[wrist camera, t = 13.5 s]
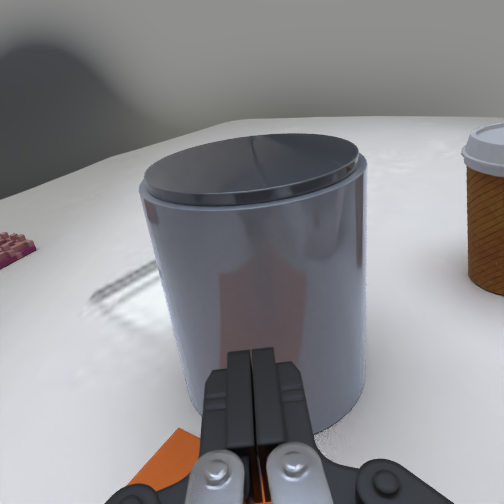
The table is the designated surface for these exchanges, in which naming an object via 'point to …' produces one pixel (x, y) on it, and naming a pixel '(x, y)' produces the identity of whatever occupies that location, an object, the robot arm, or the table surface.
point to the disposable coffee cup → (486, 206)
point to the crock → (266, 259)
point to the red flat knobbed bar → (14, 248)
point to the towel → (172, 462)
